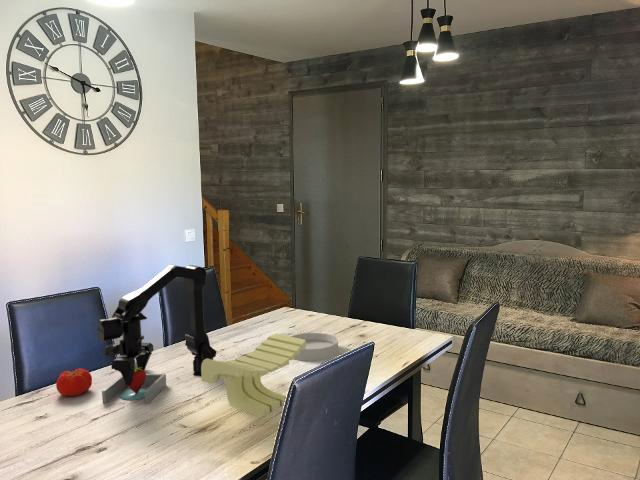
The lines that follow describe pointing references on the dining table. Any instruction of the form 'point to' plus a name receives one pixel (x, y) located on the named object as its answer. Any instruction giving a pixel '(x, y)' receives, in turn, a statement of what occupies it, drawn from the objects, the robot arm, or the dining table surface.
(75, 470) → the dining table surface
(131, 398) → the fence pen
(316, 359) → the dish
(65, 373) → the tomato
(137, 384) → the strawberry
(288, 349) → the slatted curved stool
